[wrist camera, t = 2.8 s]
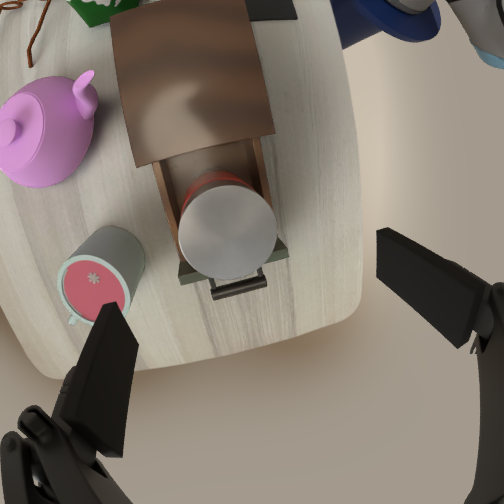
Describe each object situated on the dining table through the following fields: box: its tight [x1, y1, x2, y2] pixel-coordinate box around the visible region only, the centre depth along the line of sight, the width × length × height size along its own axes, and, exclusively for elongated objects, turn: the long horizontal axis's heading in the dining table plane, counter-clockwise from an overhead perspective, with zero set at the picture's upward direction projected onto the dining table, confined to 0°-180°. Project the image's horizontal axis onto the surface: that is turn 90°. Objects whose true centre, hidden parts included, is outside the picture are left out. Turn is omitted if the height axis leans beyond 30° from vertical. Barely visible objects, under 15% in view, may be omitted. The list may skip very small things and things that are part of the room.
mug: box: [57, 226, 145, 326], centre depth 31 cm, size 14×9×10 cm
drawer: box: [152, 137, 289, 301], centre depth 31 cm, size 21×13×7 cm, turn 11°
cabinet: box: [110, 0, 275, 168], centre depth 25 cm, size 18×14×9 cm
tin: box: [178, 168, 277, 280], centre depth 26 cm, size 7×7×15 cm
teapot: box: [0, 70, 98, 188], centre depth 21 cm, size 20×14×12 cm
